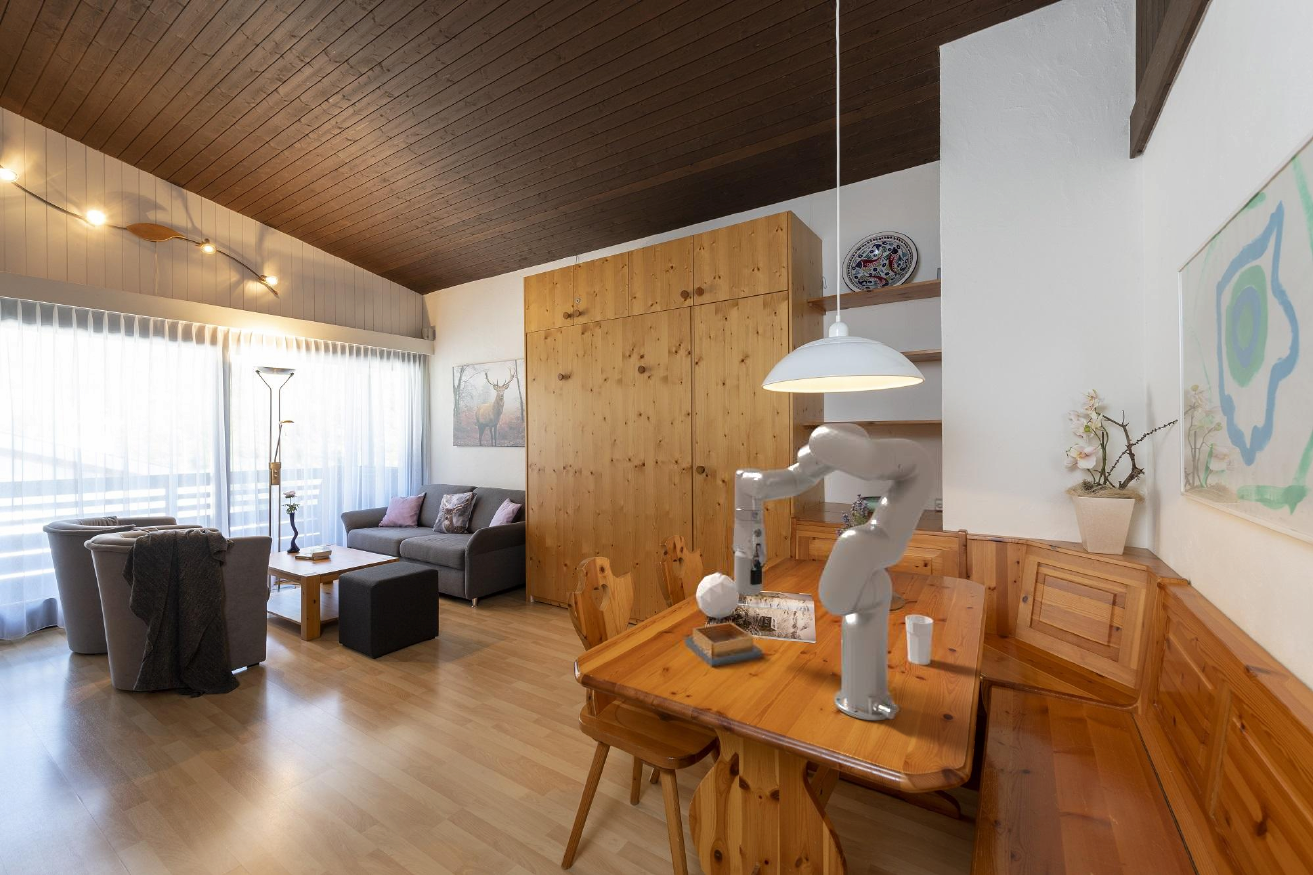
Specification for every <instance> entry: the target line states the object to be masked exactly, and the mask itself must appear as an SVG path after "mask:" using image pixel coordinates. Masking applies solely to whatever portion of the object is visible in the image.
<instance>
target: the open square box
mask: <svg viewBox="0 0 1313 875" xmlns="http://www.w3.org/2000/svg"><path fill="white" fill-rule="evenodd" d="M684 642H685V646H687V647H688V648H689V649H690V650H691V651H692V652H694V653H695V655H696V656H698V657H699V658H700V659H702V660H703V661H704V662H705V663H706V664H708V665H709V666H710V667H711V668H714V667H715V668H716V667H719V666H723V665H729V664H735V663H740V662H744V661H750V660H754V659H755V660H756V659H760V658H762V657H763V651H762V649H761V648H760V647H758V646H757V645H755V644H754V637H753V635H751V633H749V632H747V631H745V629H742V628H741V627H740V626H738V625H736V624H735V623H733V622H723V623H718V624H711V625H705V626H700V627H693V629H692V635H691V636H686V637H685V641H684Z"/></svg>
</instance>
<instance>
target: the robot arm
mask: <svg viewBox="0 0 1313 875" xmlns="http://www.w3.org/2000/svg"><path fill="white" fill-rule="evenodd" d="M796 462H797V463H795V464H793V465H791V466H789V467H787V468H785V469H784V468H783V469H771V470H763V471H762V470H761V469H758V468H740V469H737V470H736V471H735V473H734V474H735V475H734V528H733V542H732V543H731V547H732V550H733V552H732V553H733V555H734V558H733V560H734V561H735V552H736V551H737V548H739V549H740V550H744V551H745V554H746V556H747V557H748V559H749V560H750V561H751V566H752V570H751V575H750V584H751V585H758V584H762V569H763V570H764V566H765V565H766V562H767V559H768V557H767V539H766V529H765V523H764V501H773V500H781V499H788V498H792V497H795V496H797V495H800V494H801V493H803V492H806V491H808V490H809V489H812V488H814V487H815V486H816V485H817V484H818V483H819V482H820V481H821V479H823V478H825V477H826V476H829V474H832V473H835V472H836V471H839V472H842V473H844V474H846V475H849V476H852V477H855V478H856V479H859V480H861V481H865V482H871V483H877V482H886V481H891V483H890V484H889V486H888V487H887V489H886V490H885V491H884V492H883V493H882V495H881V496H880V498H879V500H878V502H877V504H876V506H875V510H874V512H873V513H872V515H871V517H870V519H869V520H868V521H867V522H866V523H864V524H859V525H855V526H852V527H849V528H847V529H846V530H845V531H843V532H842V533H840V535H839V537H838V538H837V540H835V543H834V545H833V548H832V550H831V553H830V555H829V557H828V559H827V561H826V564H825V566H824V569H823V571H822V573H821V576H820V579H819V583H818V590H817V591H818V598H819V600H820V603H821V605H822V607H823V608H824V610H826V611H827V612H828V613H829V614H832V615H833V616H838V617H842V619H841V689H840V690H839V691H837V692H836V693H835V694H834V697H833V699H834V700H833V703H834V705H835V706H836V708H838V710H839V711H841V712H843V713H844V714H846V715H848V716H850V717H854V718H855V719H860V720H866V721H882V720H886V719H890V720H892V719H894V718H895V717H896V716H895V715H896V713H898V712H900V707H899V706H898V705H897V704H895V702H894V701H893V700H892V693H891V692H889V691H888V639H889V638H888V637H889V635H888V634H889V616H890V609H891V604H892V599H893V584H892V580H891V577H890V574H889V573H888V571H886V568H889V567H893V566H894V565H896V564H898V563H899V562H900V560H902V558H903V556H904V555H905V553H906V550H907V547H908V546H909V543H910V541H911V538H912V537H913V534H914V532H915V531H916V528H917V526H918V524H919V521H920V518H921V517H922V514H923V512H924V510H925V509H926V507H927V504H928V503H929V500H930V498H931V496H932V493H933V491H934V487H935V482H936V470H935V469H936V468H935V464H934V462H933V460H932V457H931V455H930V453H928V451H927V450H926V449H925V447H923V445H921V444H920V443H918V442H916V441H913V440H910V439H907V438H898V437H897V438H896V437H895V438H883V439H882V438H881V439H880V438H879V439H872V438H870V435H869V434H868V432H867V431H866V430H865V429H864V428H863V427H862V426H860V425H859V424H855V423H850V422H848V423H847V422H845V423H844V422H842V423H841V422H840V423H838V422H837V423H834V422H833V423H832V422H831V423H825V424H821V425H819V426H817V427H816V428H815V429H814V430H813V431H812V433H811V434H810V436H809V440H808V443H807V444H805V445H804V446H802V447H800V449H799V450H798V451H797V455H796ZM753 555H758V556H759V557H755V558H754V557H753ZM754 560H758V561H757V563H756V564H755V562H754ZM762 585H763V584H762Z"/></svg>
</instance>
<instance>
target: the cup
mask: <svg viewBox="0 0 1313 875" xmlns="http://www.w3.org/2000/svg"><path fill="white" fill-rule="evenodd" d="M933 629H934V619H933V618H931V617H929V616H925V615H921V614H909V615H906V616H905V630H906V642H907V643H906V644H907V645H906V646H907V647H906V648H907V660H908V661H909V662H910V663H912V664H915V665H919V666H924V665H925V666H926V665H929V664H930V663H931V654H932V653H931V652H932V650H931V649H932V638H933V635H932V634H933V631H934V630H933Z"/></svg>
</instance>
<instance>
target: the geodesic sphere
mask: <svg viewBox="0 0 1313 875" xmlns="http://www.w3.org/2000/svg"><path fill="white" fill-rule="evenodd" d="M739 598H740V593H738V592H737V591H736V590H735V588H734V580H732V578H730V577H729V576H728V575H724V574H722V572H718V571H715V573H713V574H712V573H711V574H709V575H707V576H704V578H703V579H702V580H701V581H700V583H699V584H698V586H697V589H696V593H695V599H696V602H697V604H698V605H697V606H698V607H699V610H701V611H702V613H704V614H705V615H706V616H707V617H711V618H715V619H718V620H720V619H721V620H722V619H724V618H726V617H728V616H731V615H732V614H733V613H734V612H735V610H736V609H737V608H738V606H739V600H740V599H739Z"/></svg>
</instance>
